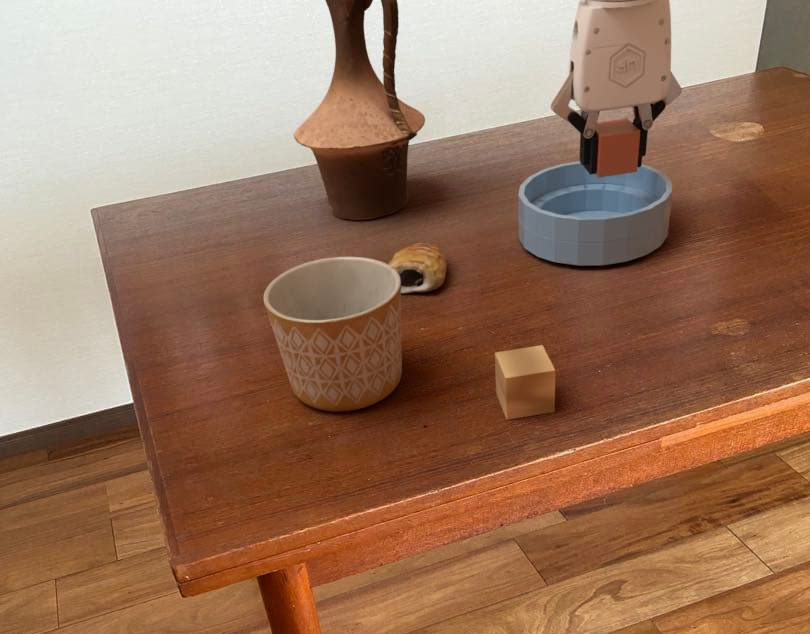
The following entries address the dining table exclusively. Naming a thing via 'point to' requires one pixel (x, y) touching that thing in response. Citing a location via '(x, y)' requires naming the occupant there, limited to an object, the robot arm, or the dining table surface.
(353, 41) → the pitcher
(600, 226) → the bowl
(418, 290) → the pastry
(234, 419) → the dining table surface
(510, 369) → the block
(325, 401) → the planter
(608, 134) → the block
